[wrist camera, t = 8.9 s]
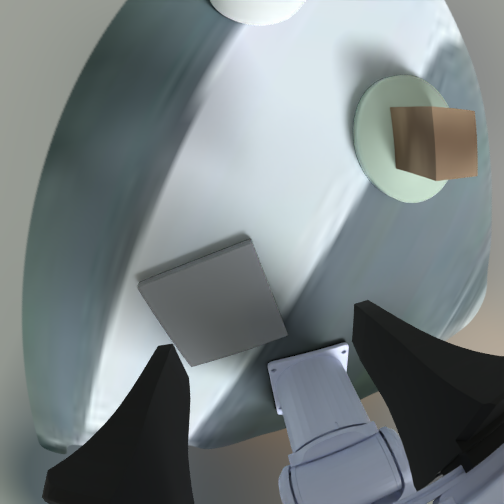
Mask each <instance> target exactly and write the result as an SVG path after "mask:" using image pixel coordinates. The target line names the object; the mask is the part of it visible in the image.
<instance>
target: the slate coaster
mask: <svg viewBox="0 0 504 504" xmlns="http://www.w3.org/2000/svg"><path fill="white" fill-rule="evenodd" d="M137 288H138V290H139V291H140V293H141V294H142V296H143V298H144V299H145V301H146V302H147V304H148V306H149V307H150V309H151V310H152V312H153V313H154V315H155V316H156V318H157V319H158V321H159V322H160V324H161V325H162V327H163V328H164V330H165V331H166V333H167V334H168V336H169V337H170V338H171V340H172V341H173V343H174V344H175V345H176V347H177V348H178V350H179V351H180V352H181V354H182V355H183V356H184V358H185V359H186V361H187V362H188V363H189V365H190V366H191V367H193V366H197V365H200V364H204V363H207V362H210V361H214V360H217V359H220V358H224V357H227V356H230V355H233V354H236V353H239V352H242V351H245V350H248V349H251V348H254V347H257V346H260V345H263V344H266V343H269V342H271V341H274V340H277V339H280V338H282V337H285V336H288V333H287V330H286V328H285V325H284V323H283V320H282V317H281V315H280V312H279V310H278V307H277V304H276V302H275V299H274V297H273V294H272V292H271V289H270V286H269V284H268V281H267V279H266V276H265V273H264V271H263V268H262V266H261V263H260V261H259V258H258V255H257V253H256V250H255V248H254V245H253V243H252V240H251V239H249V240H246V241H243V242H241V243H238V244H236V245H233V246H230V247H228V248H225V249H223V250H220V251H218V252H215V253H212V254H210V255H207V256H205V257H202V258H200V259H197V260H194V261H192V262H189V263H187V264H184V265H182V266H179V267H177V268H174V269H171V270H169V271H166V272H164V273H161V274H159V275H156V276H154V277H151V278H149V279H146V280H144V281H141V282H139V285H138V287H137Z"/></svg>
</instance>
